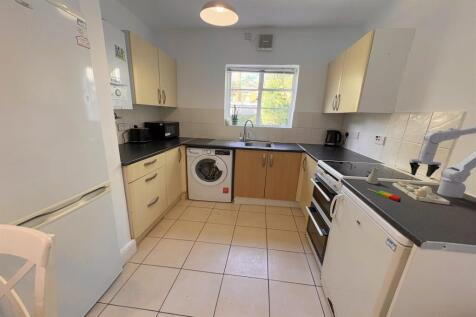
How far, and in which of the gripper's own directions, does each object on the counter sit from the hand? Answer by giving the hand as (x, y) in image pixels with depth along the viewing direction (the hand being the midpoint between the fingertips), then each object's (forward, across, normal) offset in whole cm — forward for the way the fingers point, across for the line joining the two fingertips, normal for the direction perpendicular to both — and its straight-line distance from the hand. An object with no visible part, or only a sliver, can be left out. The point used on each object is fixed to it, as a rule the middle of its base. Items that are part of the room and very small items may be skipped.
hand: (420, 175), depth 109 cm
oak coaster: (+9, 0, -9) cm, 13 cm away
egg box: (+9, +4, +8) cm, 13 cm away
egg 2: (+9, +1, +8) cm, 12 cm away
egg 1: (+9, +7, +15) cm, 19 cm away
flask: (+10, +22, -4) cm, 24 cm away
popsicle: (+10, +26, +16) cm, 32 cm away
